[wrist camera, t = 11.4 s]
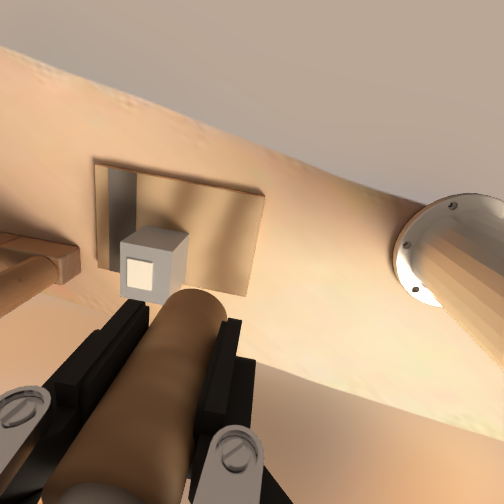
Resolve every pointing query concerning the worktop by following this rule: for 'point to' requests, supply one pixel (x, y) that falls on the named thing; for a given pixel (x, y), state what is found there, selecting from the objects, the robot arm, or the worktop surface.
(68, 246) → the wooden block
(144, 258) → the block
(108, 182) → the panel
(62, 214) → the worktop surface
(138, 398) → the grey-capped wooden cylinder
